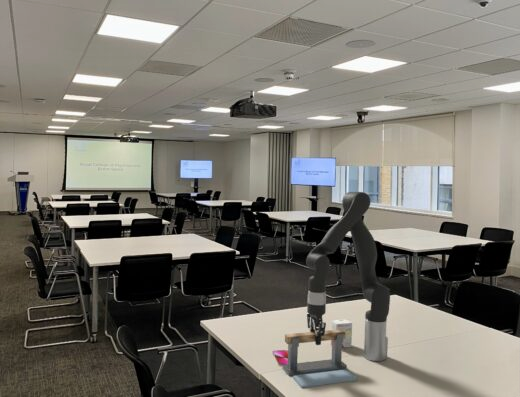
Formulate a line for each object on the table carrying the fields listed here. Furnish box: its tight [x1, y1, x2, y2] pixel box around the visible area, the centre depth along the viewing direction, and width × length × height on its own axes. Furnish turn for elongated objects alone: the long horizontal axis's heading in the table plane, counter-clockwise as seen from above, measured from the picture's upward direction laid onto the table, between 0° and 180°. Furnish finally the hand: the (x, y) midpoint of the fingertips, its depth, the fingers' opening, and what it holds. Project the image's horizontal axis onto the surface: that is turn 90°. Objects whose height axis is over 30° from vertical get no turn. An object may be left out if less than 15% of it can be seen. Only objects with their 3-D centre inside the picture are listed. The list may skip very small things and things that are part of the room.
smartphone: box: [272, 349, 288, 367], centre depth 192 cm, size 7×1×15 cm
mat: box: [292, 368, 359, 388], centre depth 173 cm, size 24×8×1 cm, turn 108°
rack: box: [281, 333, 348, 377], centre depth 183 cm, size 26×7×14 cm, turn 108°
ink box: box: [330, 319, 353, 349], centre depth 209 cm, size 9×5×12 cm, turn 107°
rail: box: [284, 329, 345, 345], centre depth 182 cm, size 26×3×3 cm, turn 108°
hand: (315, 342), depth 182 cm, fingers open, 4 cm apart
